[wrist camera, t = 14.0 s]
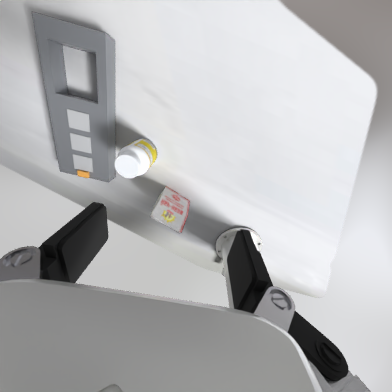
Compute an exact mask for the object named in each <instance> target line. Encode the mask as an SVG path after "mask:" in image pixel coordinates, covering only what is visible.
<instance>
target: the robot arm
mask: <svg viewBox="0 0 392 392" xmlns="http://www.w3.org/2000/svg"><path fill="white" fill-rule="evenodd" d="M107 239H108V226H107V213H106V207H105V206H104V205H103V204H101V203H96V202H93V203H92V204H90V205H89V206H88V207H87V208H85V209H84V210H83V211H82V212H81V213H79V214H78V215H77V216H76V217H74V218H73V219H72V220H71V221H69V222H68V223H67V224H66V225H65V226H63V227H62V228H61V229H60V230H58V231H57V232H56V233H55V234H53V235H52V236H51V237H50V238H49V239H47V240H46V241H45V242H44V243H42V245H41V246H40V247H39V248H37V247H34V246H27V247H21V248H18V249H15V250H13V251H11V252H9V253H7V254H6V255H4V256H3V257H2V258H1V259H0V392H370V390H369V389H368V388H367V387H366V385H365V384H364V383H363V382H362V381H361V380H360V379H359V377H358V376H357V375H355V376H353V375H352V374H351V373H350V371H349V370H348V365H347V362H346V360H345V358H344V356H343V354H342V353H341V352H340V350H339V349H338V348H337V347H336V346H335V345H334V344H333V343H332V342H331V341H330V340H329V339H327V338H326V337H325V336H324V335H323V334H322V333H321V332H319V331H318V330H317V329H316V328H315V327H314V326H312V325H311V324H310V323H309V322H308V321H306V320H305V319H304V318H303V317H302V316H301V315H299V314H298V313H297V312H296V311H295V304H294V302H293V300H292V298H291V297H290V296H289V295H288V294H287V293H286V292H285V291H284V290H283V289H281V288H279V287H275V286H273V284H272V282H271V279H270V277H269V274H268V272H267V269H266V267H265V264H264V261H263V259H262V256H261V254H260V251H261V249H262V241H261V238H260V236H259V235H258V234H257V233H256V232H255V231H253V230H251V229H248V228H233V229H230V230H227V231H225V232H224V233H222V234H221V235H220V236H219V237H218V239H217V241H216V252H217V254H218V255H219V257H221V258H222V259H223V264H224V268H223V270H222V275H223V276H225V278H226V286H227V293H228V300H229V307H230V308H226V307H221V306H215V305H210V304H203V303H198V302H192V301H185V300H179V299H173V298H167V297H160V296H154V295H148V294H142V293H135V292H129V291H123V290H116V289H110V288H102V287H96V286H90V285H83V284H76V283H75V282H76V281H77V279H78V278H79V277H80V276H81V274H82V273H83V272H84V270H85V269H86V268H87V266H88V265H89V264H90V262H91V261H92V260H93V258H94V257H95V256H96V254H97V253H98V252H99V250H100V249H101V248H102V247H103V245H104V244H105V243H106V241H107Z"/></svg>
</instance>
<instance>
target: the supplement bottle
mask: <svg viewBox="0 0 392 392" xmlns="http://www.w3.org/2000/svg"><path fill="white" fill-rule="evenodd" d="M156 158H157V148H156V146H155V145H154V144H153V143H152V142H151V141H150V140H147V139H138V140H136V141H134V142H132V143H131V144H129V145H127V146H125V147H124V148H122V149H121V150H120V152H119V154H118V157H117V158H116V160H115V169H116V171H117V172H118V173H119V174H120V175H121V176H123V177H125V178H134V177H136V176H140V175H142V174H144V173H145V172H146V171H147V170H148V169H149V168H150V166H151V165H152V164H153V163H154V162H155V160H156Z"/></svg>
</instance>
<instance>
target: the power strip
mask: <svg viewBox="0 0 392 392" xmlns="http://www.w3.org/2000/svg"><path fill="white" fill-rule="evenodd" d="M32 16H33V22H34V27H35V33H36V39H37V44H38V50H39V56H40V61H41V67H42V73H43V78H44V84H45V90H46V95H47V101H48V107H49V112H50V118H51V124H52V129H53V135H54V141H55V146H56V152H57V158H58V163H59V169H60V172H65V173H69V174H74V175H78V176H80V177H85V178H92V179H97V180H101V181H106V182H110V181H111V180H112V179H114V178H115V177H116V169H115V40H114V39H113V38H111V37H110V36H109V35H107V34H106V33H104V32H101V31H97V30H94V29H90V28H87V27H84V26H80V25H77V24H73V23H70V22H67V21H63V20H60V19H56V18H53V17H49V16H46V15H43V14H39V13H36V12H32ZM62 45H64V46H68V47H71V48H75V49H78V50H82V51H85V52H89V53H92V54H96V69H97V90H98V102H96V101H92V100H88V99H84V98H80V97H76V96H73V95H69V94H68V89H67V81H66V73H65V65H64V56H63V48H62Z"/></svg>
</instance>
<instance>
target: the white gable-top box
mask: <svg viewBox="0 0 392 392" xmlns="http://www.w3.org/2000/svg"><path fill="white" fill-rule="evenodd" d="M189 203H190V201H189V200H187V199H186V198H184V197H183V196H181V195H179V194H178V193H176V192H175V191H173V190H171V189H170V188H168V187H167V186H166V187H165V188H164V190H163V191H162V193H161V194H160V195H159V197H158V199H157V201H156V203H155V205H154V207H153V209H152V212H151V216H150V217H151V218H153V219H155V220H157V221H158V222H160V223H162V224H164V225H165V226H167V227H169V228H171V229H173V230H174V231H176V232H178V233H180V234H181V233H182V230H183V227H184V224H185V222H186V219H187V216H188V211H189Z"/></svg>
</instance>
